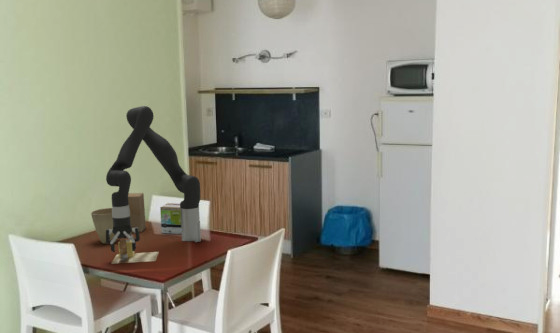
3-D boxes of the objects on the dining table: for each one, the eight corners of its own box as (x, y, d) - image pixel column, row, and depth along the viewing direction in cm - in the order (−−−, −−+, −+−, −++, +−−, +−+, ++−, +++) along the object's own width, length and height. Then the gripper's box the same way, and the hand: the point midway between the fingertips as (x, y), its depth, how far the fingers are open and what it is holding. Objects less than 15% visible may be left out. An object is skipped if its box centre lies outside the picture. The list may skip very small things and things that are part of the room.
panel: (159, 254, 259) (158, 251, 258) (155, 263, 245) (155, 260, 245) (117, 256, 257) (116, 254, 256) (111, 266, 243) (111, 263, 243)
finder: (134, 253, 256) (133, 238, 255) (133, 257, 251) (131, 241, 250) (121, 254, 256) (120, 239, 255) (119, 258, 251) (118, 242, 250)
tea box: (161, 233, 295) (159, 206, 293) (168, 229, 305) (167, 202, 303) (187, 234, 292) (186, 207, 290) (194, 229, 302) (193, 203, 300)
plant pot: (113, 236, 294) (110, 206, 291) (129, 240, 284) (127, 209, 282) (87, 242, 282) (85, 212, 280) (104, 247, 273) (101, 215, 271)
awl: (128, 258, 249) (126, 239, 247) (127, 260, 246) (125, 241, 244) (121, 259, 248) (119, 239, 247) (120, 261, 245) (118, 241, 244)
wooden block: (141, 232, 299) (138, 196, 296) (122, 233, 299) (120, 196, 296) (146, 228, 309) (143, 192, 306) (128, 228, 309) (125, 193, 306)
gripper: (102, 218, 240) (105, 254, 242) (136, 216, 241) (139, 252, 244) (106, 214, 247) (108, 249, 249) (139, 212, 249) (141, 247, 251)
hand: (123, 251), depth 246 cm, fingers open, 8 cm apart
